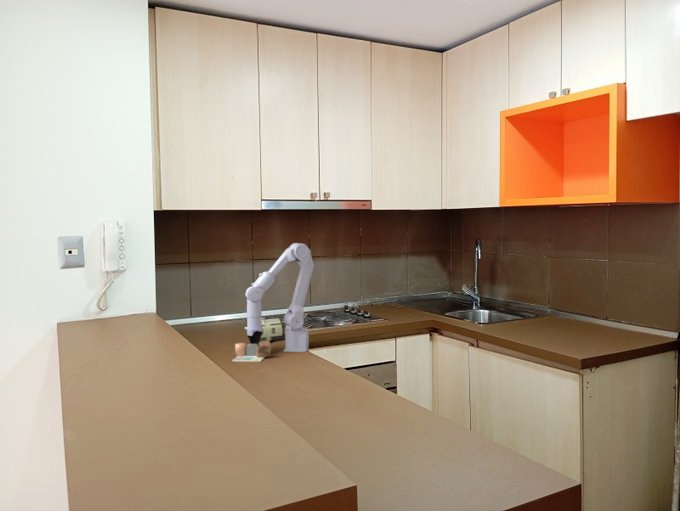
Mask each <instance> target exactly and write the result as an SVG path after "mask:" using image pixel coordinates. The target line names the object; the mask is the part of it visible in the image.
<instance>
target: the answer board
mask: <svg viewBox="0 0 680 511" xmlns="http://www.w3.org/2000/svg"><path fill="white" fill-rule="evenodd" d="M265 358H266V357H260V358H258V357H257V356H242V357H238V356H235V358H233V359H232V360H231V361H232V362H238V363H239V362H242V363H243V362H246V363H249V362H250V363H252V362H253V363H257V362H258V363H261V362H262V361H263V360H264V359H265Z"/></svg>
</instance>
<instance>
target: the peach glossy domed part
mask: <svg viewBox="0 0 680 511" xmlns="http://www.w3.org/2000/svg"><path fill="white" fill-rule="evenodd" d="M246 346H247V343H246V342H237V343H235V344H234V353H235V357H237V356H238V357H242V356H246Z"/></svg>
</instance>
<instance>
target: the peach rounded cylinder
mask: <svg viewBox="0 0 680 511" xmlns="http://www.w3.org/2000/svg"><path fill="white" fill-rule="evenodd" d="M262 345H270V346H271V342H270V341H267V340H263V341H259V346H262Z"/></svg>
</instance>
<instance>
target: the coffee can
mask: <svg viewBox="0 0 680 511" xmlns="http://www.w3.org/2000/svg"><path fill="white" fill-rule="evenodd" d="M259 331H262V332H263V334H262V336H261V339H260V341H263V340H267V341H272V342H275V341H280V340H281V341H283V340H284V339H285V322H284V320H283V319H282V318H281V317H278V318H268V319H262V330H259ZM247 339H248V342H249V341H250V340H249V338H248V337H247ZM274 340H275V341H274Z"/></svg>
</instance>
